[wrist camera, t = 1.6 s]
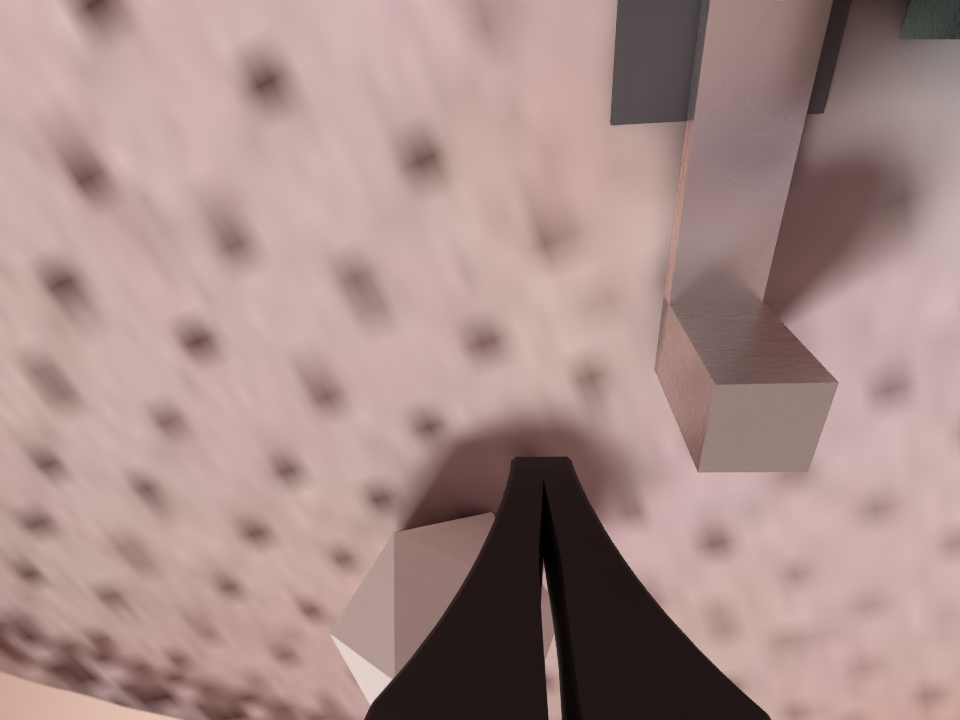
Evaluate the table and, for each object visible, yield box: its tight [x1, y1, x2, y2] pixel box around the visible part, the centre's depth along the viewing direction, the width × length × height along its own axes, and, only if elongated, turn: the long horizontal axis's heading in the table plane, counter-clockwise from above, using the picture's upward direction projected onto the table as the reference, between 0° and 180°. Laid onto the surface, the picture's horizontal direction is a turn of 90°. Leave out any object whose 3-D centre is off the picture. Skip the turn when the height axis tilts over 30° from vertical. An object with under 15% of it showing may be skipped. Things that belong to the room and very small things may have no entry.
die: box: [330, 512, 554, 705], centre depth 23 cm, size 8×9×10 cm
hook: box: [655, 0, 960, 472], centre depth 13 cm, size 10×15×6 cm
